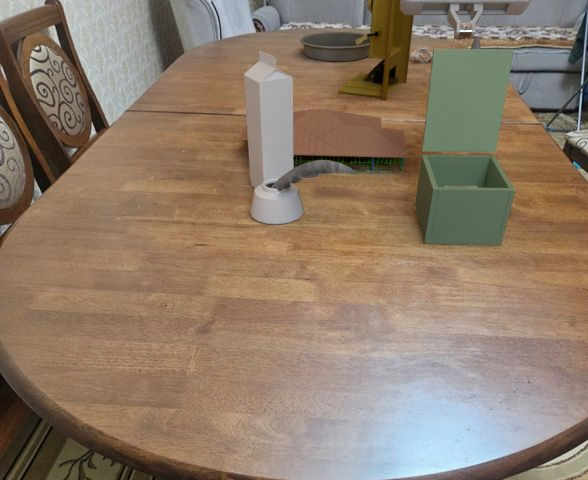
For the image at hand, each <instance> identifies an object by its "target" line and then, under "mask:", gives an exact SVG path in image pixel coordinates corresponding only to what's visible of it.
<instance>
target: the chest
mask: <svg viewBox="0 0 588 480" xmlns="http://www.w3.org/2000/svg"><path fill="white" fill-rule="evenodd" d="M444 186H477V188H471V187H444ZM515 195H516V189H515V187H514V186H513V183H512V182H511V180H510V178H509V177H508V175H507V173H506V172H505V170H504V168H503V167H502V165H501V163H500V162H499V160H498V159H497V157H496V154H449V153H447V154H446V153H445V154H442V153H441V154H439V153H421V157H420V164H419V172H418V179H417V185H416V193H415V199H414V208H415V212H416V216H417V219H418V224H419V228H420V231H421V235H422V240H423V243H424V245H465V246H466V245H469V246H502V245H503V244H502V243H503V240H504V237H505V233H506V230H507V229H506V228H507V225H508V221H509V217H510V213H511V210H512V206H513V203H514V198H515Z"/></svg>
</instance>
